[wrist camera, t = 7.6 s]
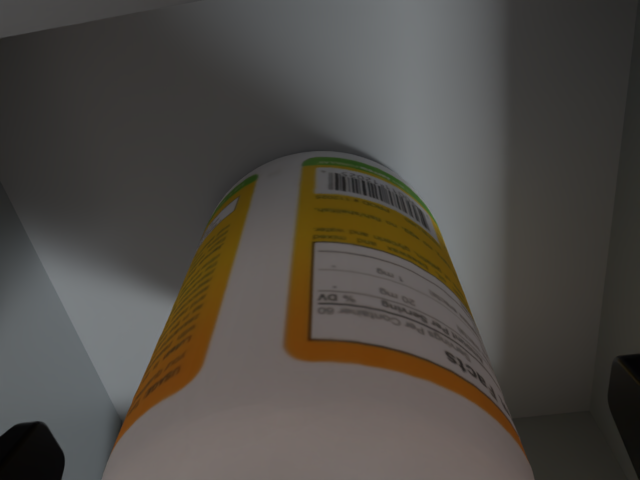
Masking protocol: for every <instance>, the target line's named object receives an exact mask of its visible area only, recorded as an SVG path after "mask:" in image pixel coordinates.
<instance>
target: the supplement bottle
mask: <svg viewBox="0 0 640 480" xmlns="http://www.w3.org/2000/svg"><path fill="white" fill-rule="evenodd" d="M101 480H535V479H534V475H533V471H532V468H531V466H530V463H529V461H528V459H527V456H526V454H525V451H524V449H523V446H522V444H521V440H520V437H519V435H518V432H517V430H516V428H515V425H514V423H513V420H512V418H511V415H510V412H509V410H508V407H507V405H506V402H505V399H504V397H503V394H502V391H501V389H500V386H499V384H498V381H497V378H496V376H495V373H494V370H493V368H492V365H491V362H490V360H489V357H488V354H487V352H486V350H485V347H484V344H483V342H482V338H481V336H480V334H479V331H478V328H477V326H476V324H475V321H474V318H473V316H472V313H471V310H470V308H469V305H468V302H467V299H466V297H465V294H464V291H463V289H462V286H461V284H460V281H459V279H458V276H457V273H456V271H455V268H454V266H453V263H452V260H451V258H450V255H449V253H448V250H447V248H446V245H445V242H444V239H443V237H442V234H441V232H440V229H439V227H438V224H437V223H436V221H435V218H434V216H433V214H432V213H431V211H430V209H429V207H428V206H427V204H426V203H425V202H424V200H423V199H422V198H421V196H420V195H419V194H418V193H417V192H416V191H415V190H414V189H413V188H412V187H411V185H410V184H408V183H407V182H406V181H405V180H404V179H403V178H401V177H400V176H399V175H397V174H396V173H394V172H393V171H391V170H390V169H388V168H386V167H384V166H382V165H380V164H378V163H376V162H374V161H371V160H369V159H366V158H363V157H360V156H356V155H353V154H348V153H343V152H334V151H310V152H301V153H296V154H291V155H287V156H284V157H281V158H277V159H275V160H273V161H270V162H268V163H266V164H264V165H262V166H260V167H258V168H256V169H255V170H253V171H252V172H250V173H248V174H247V175H246V176H245V177H243V178H242V179H241V180H240V181H238V182H237V183H236V184H235V185H234V186H233V187H232V188H231V189H230V190H229V191H228V192H227V193H226V194H225V196H224V197H223V198H222V199H221V201H220V202H219V204H218V205H217V207H216V208H215V210H214V212H213V214H212V216H211V218H210V220H209V222H208V224H207V226H206V228H205V231H204V233H203V235H202V238H201V240H200V243H199V245H198V247H197V250H196V252H195V255H194V257H193V260H192V262H191V265H190V267H189V270H188V272H187V274H186V277H185V279H184V282H183V284H182V286H181V289H180V291H179V294H178V296H177V299H176V301H175V303H174V305H173V308H172V310H171V313H170V315H169V318H168V320H167V322H166V324H165V327H164V329H163V332H162V334H161V336H160V337H159V340H158V342H157V345H156V347H155V349H154V352H153V354H152V357H151V360H150V362H149V364H148V366H147V369H146V371H145V373H144V376H143V378H142V380H141V382H140V385H139V387H138V389H137V391H136V393H135V395H134V398H133V401H132V404H131V406H130V408H129V410H128V413H127V415H126V418H125V420H124V423H123V425H122V427H121V430H120V432H119V435H118V437H117V439H116V442H115V444H114V447H113V449H112V452H111V454H110V457H109V460H108V462H107V465H106V468H105V470H104V473H103V476H102V479H101Z"/></svg>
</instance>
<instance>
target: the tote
mask: <svg viewBox="0 0 640 480" xmlns="http://www.w3.org/2000/svg"><path fill="white" fill-rule="evenodd" d="M310 151H334V152H343V153H348V154H353V155H356V156H360V157H363V158H366V159H369V160H371V161H374V162H376V163H378V164H380V165H382V166H384V167H386V168H388V169H390V170H391V171H393V172H394V173H396V174H397V175H399V176H400V177H401V178H403V179H404V180H405V181H406V182H407V183H408V184H410V185H411V187H412V188H413V189H414V190H415V191H416V192H417V193H418V194H419V195H420V196H421V198H422V199H423V200H424V202H425V203H426V204H427V206H428V207H429V209H430V211H431V213H432V214H433V216H434V218H435V221H436V223H437V224H438V227H439V229H440V232H441V234H442V237H443V239H444V242H445V245H446V248H447V250H448V253H449V255H450V258H451V260H452V263H453V266H454V268H455V271H456V273H457V276H458V279H459V281H460V284H461V286H462V289H463V291H464V294H465V297H466V299H467V302H468V305H469V308H470V310H471V313H472V316H473V318H474V321H475V324H476V326H477V328H478V331H479V334H480V336H481V338H482V342H483V344H484V347H485V350H486V352H487V354H488V357H489V360H490V362H491V365H492V368H493V370H494V373H495V376H496V378H497V381H498V384H499V386H500V389H501V391H502V394H503V397H504V399H505V402H506V405H507V407H508V410H509V412H510V415H511V418H512V420H513V423H514V425H515V428H516V430H517V432H518V435H519V437H520V440H521V444H522V446H523V449H524V451H525V454H526V456H527V459H528V461H529V463H530V466H531V468H532V471H533V475H534V479H535V480H638V478H637V475H636V473H635V470H634V468H633V465H632V463H631V461H630V458H629V456H628V453H627V451H626V449H625V446H624V444H623V441H622V439H621V436H620V434H619V432H618V429H617V427H616V424H615V422H614V420H613V417H612V415H611V412H610V409H609V406H608V401H607V392H608V385H609V378H610V371H611V364H612V360H613V359H614V358H615V357H616V356H619V355H627V354H636V353H640V0H0V436H1V435H2V434H4V433H5V432H6V431H7V430H9V429H10V428H11V427H12V426H14V425H16V424H18V423H23V422H32V421H42V422H44V423H45V424H46V425H47V426H48V427H49V429H50V431H51V432H52V434H53V435H54V437H55V439H56V440H57V442H58V444H59V445H60V447H61V449H62V450H63V452H64V456H65V468H64V472H63V476H62V480H101V479H102V476H103V473H104V470H105V468H106V465H107V462H108V460H109V457H110V454H111V452H112V449H113V447H114V444H115V442H116V439H117V437H118V435H119V432H120V430H121V427H122V425H123V423H124V420H125V418H126V415H127V413H128V410H129V408H130V406H131V404H132V401H133V398H134V395H135V393H136V391H137V389H138V387H139V385H140V382H141V380H142V378H143V376H144V373H145V371H146V369H147V366H148V364H149V362H150V360H151V357H152V354H153V352H154V349H155V347H156V345H157V342H158V340H159V337H160V336H161V334H162V332H163V329H164V327H165V324H166V322H167V320H168V318H169V315H170V313H171V310H172V308H173V305H174V303H175V301H176V299H177V296H178V294H179V291H180V289H181V286H182V284H183V282H184V279H185V277H186V274H187V272H188V270H189V267H190V265H191V262H192V260H193V257H194V255H195V252H196V250H197V247H198V245H199V243H200V240H201V238H202V235H203V233H204V231H205V228H206V226H207V224H208V222H209V220H210V218H211V216H212V214H213V212H214V210H215V208H216V207H217V205H218V204H219V202H220V201H221V199H222V198H223V197H224V196H225V194H226V193H227V192H228V191H229V190H230V189H231V188H232V187H233V186H234V185H235V184H236V183H237V182H238V181H240V180H241V179H242V178H243V177H245V176H246V175H247V174H248V173H250V172H252V171H253V170H255V169H256V168H258V167H260V166H262V165H264V164H266V163H268V162H270V161H273V160H275V159H277V158H281V157H284V156H287V155H291V154H296V153H301V152H310Z"/></svg>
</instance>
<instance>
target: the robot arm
mask: <svg viewBox="0 0 640 480" xmlns="http://www.w3.org/2000/svg"><path fill="white" fill-rule="evenodd" d="M607 401H608V406H609V409H610V412H611V415H612V417H613V420H614V422H615V424H616V427H617V429H618V432H619V434H620V436H621V439H622V441H623V444H624V446H625V449H626V451H627V453H628V456H629V458H630V461H631V463H632V465H633V468H634V470H635V473H636V475H637V478H638V480H640V353H636V354H627V355H619V356H616V357H615V358H614V359H613V360H612V364H611V371H610V378H609V385H608V392H607ZM64 468H65V456H64V452H63V450H62V449H61V447H60V445H59V444H58V442H57V440H56V439H55V437H54V435H53V434H52V432H51V431H50V429H49V427H48V426H47V425H46V424H45V423H44V422H42V421H32V422H23V423H18V424H16V425H14V426H12V427H11V428H10V429H9V430H7V431H6V432H5V433H4V434H2V435H1V436H0V480H62V476H63V472H64Z"/></svg>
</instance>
